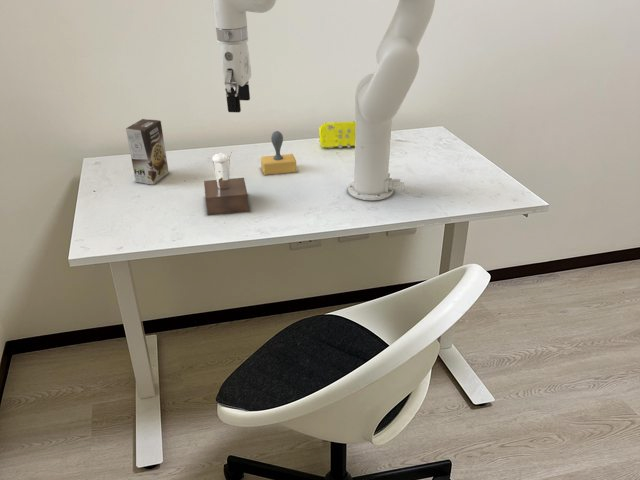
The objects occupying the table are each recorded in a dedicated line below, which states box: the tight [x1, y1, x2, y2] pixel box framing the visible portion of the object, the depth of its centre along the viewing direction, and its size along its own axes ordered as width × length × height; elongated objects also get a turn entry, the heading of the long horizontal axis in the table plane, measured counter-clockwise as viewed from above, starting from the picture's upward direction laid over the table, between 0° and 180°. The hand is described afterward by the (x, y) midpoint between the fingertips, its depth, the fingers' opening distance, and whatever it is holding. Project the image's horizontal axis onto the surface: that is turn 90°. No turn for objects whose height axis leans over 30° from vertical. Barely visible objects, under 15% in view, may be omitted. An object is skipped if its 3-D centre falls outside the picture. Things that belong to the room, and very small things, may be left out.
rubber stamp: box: [260, 130, 298, 176], centre depth 185 cm, size 10×6×12 cm, turn 103°
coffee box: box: [125, 118, 170, 185], centre depth 180 cm, size 9×6×16 cm
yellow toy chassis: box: [318, 120, 356, 150], centre depth 202 cm, size 16×6×8 cm, turn 97°
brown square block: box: [203, 177, 250, 216], centre depth 169 cm, size 11×11×5 cm
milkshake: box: [211, 151, 232, 189], centre depth 164 cm, size 4×5×10 cm
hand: (239, 105), depth 161 cm, fingers open, 9 cm apart
